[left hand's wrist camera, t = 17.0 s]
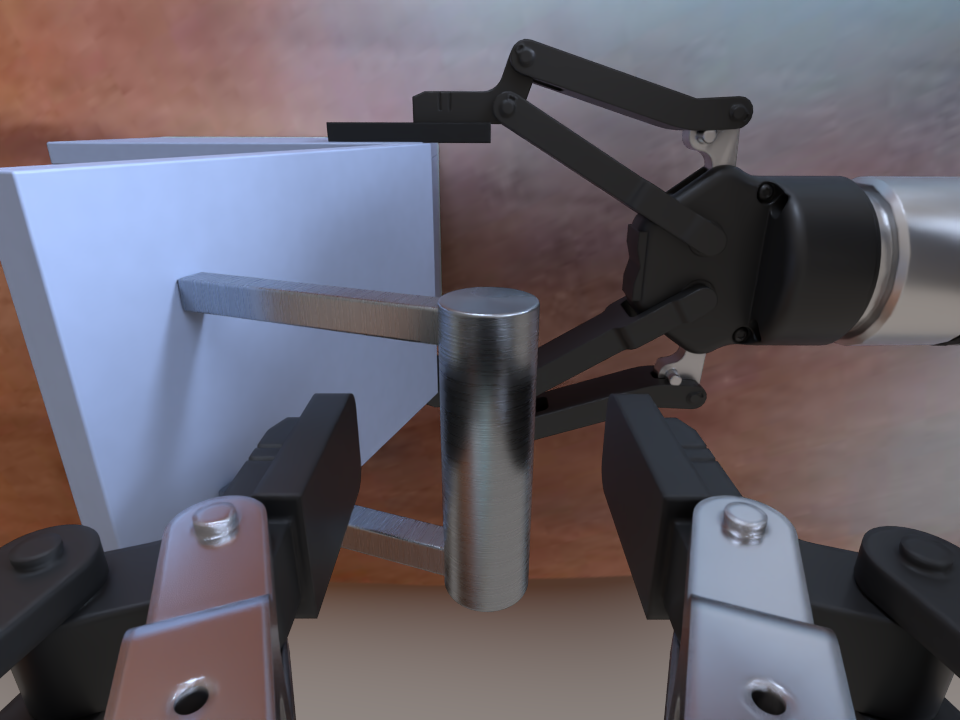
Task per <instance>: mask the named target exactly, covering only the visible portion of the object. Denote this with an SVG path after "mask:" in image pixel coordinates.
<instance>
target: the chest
mask: <svg viewBox="0 0 960 720" xmlns="http://www.w3.org/2000/svg"><path fill="white" fill-rule="evenodd" d="M404 143H422V142H328V137H157V138H133V139H109V140H85V141H60V142H48V143H47V147H48V151H49V155H50V159H51V163H52V164H54V165H57V164H73V163H90V162H106V161H123V160H140V159H156V158H173V157H189V156H206V155H222V154H239V153H255V152H272V151H288V150H305V149H321V148H338V147H354V146H371V145H387V144H404ZM430 144H431V160H432V197H433V233H434V269H435V297H441V296H442V276H441V233H440V190H439V147H438V143H430Z"/></svg>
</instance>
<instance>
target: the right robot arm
mask: <svg viewBox="0 0 960 720" xmlns="http://www.w3.org/2000/svg"><path fill="white" fill-rule="evenodd" d="M532 83H534V84H537V85H539V86H542V87H545V88H548V89H551V90H554V91H557V92H560V93H562V94H565V95H568V96H571V97H574V98H577V99H580V100H583V101H586V102H588V103H591V104H594V105H597V106H600V107H603V108H606V109H609V110H611V111H614V112H617V113H620V114H623V115H626V116H629V117H632V118H635V119H637V120H640V121H643V122H646V123H649V124H652V125H655V126H658V127H662V128H665V129H672V130H683V131H682V141H683V143H684V145H685V146H686V147H687V148H688V149H691V150H695V151H698V152H699V153H701V154H702V156H703V158H704V160H705V166H704V167H702V168H700V169H699V170H697V171H696V172H694V173H693V174H691V175H690V176H689V177H687V178H686V179H684V180H683V181H681V182H680V183H678V184H677V185H675V186H674V187H673V188H671V189H670V190H668V191H667V192H664V191H663V190H661V189H660V188H658V187H657V186H655V185H654V184H652V183H650V182H649V181H647V180H645V179H643V178H642V177H640V176H639V175H637V174H636V173H634V172H633V171H631V170H630V169H628V168H627V167H625V166H624V165H622V164H621V163H619V162H618V161H616V160H615V159H613V158H612V157H610V156H609V155H607V154H606V153H604V152H603V151H601V150H600V149H598V148H597V147H595V146H594V145H592V144H591V143H589V142H588V141H586V140H585V139H583V138H582V137H580V136H579V135H577V134H576V133H574V132H573V131H571V130H570V129H568V128H567V127H565V126H564V125H562V124H561V123H559V122H558V121H556V120H555V119H553V118H552V117H550V116H549V115H547V114H546V113H544V112H543V111H541V110H540V109H538V108H537V107H535V106H534V105H532V104H531V103H529V102H528V101H526V99H527V96H528V94H529V91H530V88H531V85H532ZM752 114H753V105H752V104H751V102H750V100H749V99H747V98H746V97H741V96H734V97H715V98H694V97H691V96H688V95H685V94H683V93H680V92H677V91H674V90H671V89H669V88H666V87H663V86H660V85H657V84H654V83H652V82H649V81H646V80H643V79H640V78H638V77H635V76H632V75H629V74H626V73H624V72H621V71H618V70H615V69H612V68H609V67H607V66H604V65H601V64H598V63H595V62H593V61H590V60H587V59H584V58H581V57H578V56H576V55H573V54H570V53H567V52H564V51H562V50H559V49H556V48H553V47H550V46H548V45H545V44H542V43H539V42H536V41H533V40H530V39H523V40H520V41H518V42H517V43H516V44H515V45H514V46H513V48H512V50H511V53H510V55H509V58H508V61H507V64H506V67H505V70H504V72H503V75H502V78H501V80H500V82H499V83H498V85H497V86H496V87H494V88H493V89H491V90H489V91H424V92H422V93H420V94H418V95H415V96H413V123H384V122H327V133H328V142H422V143H491V124H502V125H504V126H505V127H507V128H508V129H510V130H511V131H513V132H514V133H516V134H517V135H519V136H520V137H522V138H523V139H525V140H526V141H528V142H530V143H531V144H533V145H534V146H536V147H537V148H539V149H540V150H542V151H543V152H545V153H546V154H548V155H549V156H551V157H553V158H554V159H556V160H557V161H559V162H560V163H562V164H563V165H565V166H566V167H568V168H569V169H571V170H572V171H574V172H576V173H577V174H579V175H580V176H582V177H583V178H585V179H586V180H588V181H589V182H591V183H592V184H594V185H595V186H597V187H599V188H600V189H602V190H603V191H605V192H606V193H608V194H609V195H611V196H612V197H614V198H615V199H617V200H618V201H620V202H621V203H623V204H624V205H626V206H627V207H629V208H630V209H632V210H633V211H635V212H636V213H638V214H637V215H636V217H635V219H634V220H633V223H632V224H628V233H627V245H628V251H629V261H628V264H627V266H626V269H625V272H624V275H623V286H622V290H623V291H624V292H625V294H626V296H625V297H623V298H621V299H619V300H617V301H616V302H614V303H612V304H610V305H609V306H608V307H607V308H606V309H605V311H604V312H603V313H601V314H599V315H597V316H596V317H594V318H592V319H590V320H588V321H586V322H585V323H583V324H581V325H579V326H577V327H575V328H574V329H572V330H570V331H568V332H566V333H564V334H563V335H561V336H559V337H557V338H555V339H553V340H552V341H550V342H548V343H546V344H544V345H542V346H541V347H539V348H538V358H537V382H536V406H535V429H534V440H536V439H540V438H544V437H547V436H551V435H555V434H559V433H562V432H566V431H570V430H574V429H578V428H581V427H585V426H589V425H593V424H596V423H600V422H604V421H606V411H607V403H608V398H609V396H610V394H649V395H650V396H651V398H652V399H653V401H654V403H655V404H656V406H657V407H659V408H680V409H696V408H698V407H700V406H702V405H703V404H704V403H705V401H706V398H707V397H706V392H705V390H704V389H703V388H702V386H701V385H700V379H701V375H702V370H703V365H704V360H705V355H706V353H709V352H712V351H714V350H716V349H718V348H720V347H723V346H726V345H730V344H744V345H827V344H830V343H833V342H834V343H836V344H840V345H845V346H877V345H937V346H946V345H960V177H920V176H864V177H857V178H854V179H852V180H850V179H848V178H846V177H842V176H752V175H749V174H747V173H745V172H744V171H742V170H741V169H739V168H738V167H736V158H737V149H738V140H739V131H740V128H742V127H744V126H745V125H746V124H748V122H749V121H750V119H751V118H752ZM663 334H664V335H666V336H667V337H668V338H670V339H671V340H672V341H674V342H675V343H676V344H678V345H679V349H678V350H677V351H676V352H675V353H674V354H673V355H671V356H667V357H660V358H658V359H657V361H656V363H655V365H654V366H640V367H635V368H631V369H627V370H623V371H620V372H616V373H612V374H609V375H605V376H601V377H598V378H594V379H590V380H587V381H583V382H580V383H576V384H572V385H569V386H565V387H561V388H558V389H554V390H550V391H547V390H549V389H551V388H553V387H555V386H557V385H558V384H560V383H562V382H564V381H566V380H568V379H570V378H572V377H574V376H575V375H577V374H579V373H581V372H583V371H585V370H587V369H589V368H591V367H592V366H594V365H596V364H598V363H600V362H602V361H604V360H606V359H608V358H610V357H611V356H613V355H615V354H617V353H619V352H621V351H623V350H626V349H636V348H638V347H640V346H642V345H644V344H646V343H648V342H650V341H652V340H654V339H656V338H658V337H659V336H661V335H663ZM437 378H438V393H437V394H436V395H435V396H434V397H433V398H432V399H431V400H430V401H429V402H428V403H427V405H430V406H433V407H440V383H439V356H437ZM545 391H547V392H545Z"/></svg>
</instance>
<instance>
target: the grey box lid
mask: <svg viewBox="0 0 960 720" xmlns="http://www.w3.org/2000/svg"><path fill="white" fill-rule="evenodd" d="M0 261H1V264H2V267H3V270H4V274H5V277H6V280H7V283H8V287H9V290H10V293H11V296H12V300H13V303H14V306H15V309H16V313H17V316H18V319H19V322H20V326H21V329H22V332H23V335H24V339H25V342H26V345H27V348H28V352H29V355H30V358H31V361H32V365H33V368H34V371H35V374H36V378H37V381H38V384H39V387H40V390H41V394H42V397H43V400H44V403H45V407H46V410H47V413H48V416H49V420H50V423H51V426H52V429H53V433H54V436H55V439H56V442H57V446H58V449H59V452H60V455H61V459H62V462H63V465H64V468H65V472H66V475H67V478H68V481H69V485H70V488H71V491H72V494H73V498H74V501H75V504H76V507H77V511H78V514H79V517H80V520H81V524H82V525H84V526H88V527H90V528H92V529H94V530H95V531H96V532H97V533H98V535H99V537H100V540H101V543H102V547H103V550H104V552H106V551H111V550H116V549H121V548H126V547H131V546H136V545H141V544H145V543H150V542H154V541H158V540H162V536H163V533H164V530H165V528H166V526H167V525H168V523H169V522H170V521H171V520H172V519H173V518H174V517H175V516H176V515H178V514H179V513H180V512H182V511H183V510H185V509H187V508H189V507H190V506H192V505H194V504H197V503H199V502H202V501H205V500H208V499H212V498H216V497H221V496H222V495H223V494H224V492H225V491H226V489H227V488H228V486H229V485H230V483H231V482H232V481H233V479H234V478H235V476H236V475H237V473H238V472H239V471H240V469H241V468H242V466H243V465H244V463H245V462H246V461H248V460H249V456H250V455H251V453H252V452H253V450H254V449H255V448H257V445H258V443H259V442H260V440H261V439H262V437H263V436H264V435H265V433H266V432H267V430H268V429H270V428H271V427H273V426H275V425H276V424H278V423H279V422H281V421H282V420H284V419H285V418H287V417H300V416H301V414H302V412H303V411H304V409H305V408H306V406H307V404H308V403H309V401H310V399H311V398H312V396H313V395H314V394H315V393H352V394H353V395H354V398H355V402H356V410H357V422H358V433H359V444H360V456H361V466H362V465H363V464H364V463H365V462H367V461H368V460H369V459H370V458H371V457H372V456H373V455H374V454H375V453H376V452H377V451H378V450H379V449H380V448H381V447H382V446H383V445H384V444H385V443H386V442H387V441H388V440H389V439H390V438H391V437H392V436H393V435H395V434H396V433H397V432H398V431H399V430H400V429H401V428H402V427H403V426H404V425H405V424H406V423H407V422H408V421H409V420H410V419H411V418H412V417H413V416H414V415H415V414H416V413H417V412H418V411H419V410H420V409H421V408H423V407H424V406H425V405H426V404H427V403H428V402H429V401H430V400H431V399H432V398H433V397H434V396H435V395H436V394H437V393H438V378H437V345H439V383H440V421H441V459H442V497H443V527H442V526H438V525H434V524H430V523H426V522H422V521H418V520H414V519H410V518H406V517H402V516H398V515H394V514H390V513H386V512H381V511H377V510H373V509H369V508H365V507H361V506H357V505H354V508H353V511H352V514H351V517H350V520H349V523H348V526H347V529H346V532H345V535H344V538H343V541H342V544H341V547H343V548H346V549H350V550H354V551H357V552H361V553H364V554H368V555H372V556H375V557H379V558H383V559H386V560H390V561H393V562H397V563H401V564H404V565H408V566H412V567H415V568H419V569H422V570H426V571H430V572H433V573H437V574H441V575H444V576H445V586H446V589H447V591H448V593H449V594H450V596H451V597H452V598H453V599H454V600H455V601H456V602H457V603H458V604H460V605H462V606H464V607H466V608H468V609H471V610H475V611H482V612H492V611H499V610H502V609H505V608H508V607H510V606H512V605H513V604H515V603H516V602H518V601H519V600H520V599H521V598H522V596H523V595H524V593H525V591H526V589H527V586H528V573H529V549H530V525H531V501H532V477H533V453H534V429H535V406H536V382H537V358H538V334H539V310H540V303H539V300H538V299H537V298H536V297H535V296H534V295H532V294H530V293H527V292H524V291H520V290H516V289H510V288H501V287H474V288H465V289H460V290H455V291H452V292H449V293H446V294H444V295H443V296H441V297H435V269H434V233H433V197H432V160H431V144H430V143H404V144H387V145H371V146H354V147H338V148H321V149H305V150H288V151H272V152H255V153H239V154H222V155H206V156H189V157H173V158H156V159H140V160H123V161H106V162H90V163H73V164H57V165H40V166H24V167H7V168H0Z"/></svg>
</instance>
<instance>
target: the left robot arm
mask: <svg viewBox="0 0 960 720" xmlns="http://www.w3.org/2000/svg"><path fill="white" fill-rule="evenodd" d="M360 482H361V456H360V444H359V433H358V422H357V410H356V402H355V398H354V395H353V394H352V393H315V394H314V395H313V396H312V398H311V399H310V401H309V403H308V404H307V406H306V408H305V409H304V411H303V412H302V414H301V416H300V417H287V418H285V419H284V420H282V421H281V422H279V423H278V424H276V425H275V426H273V427H271V428H270V429H268V430H267V432H266V433H265V435H264V436H263V437H262V439H261V440H260V442H259V443H258V445H257V448H255V449H254V450H253V452H252V453H251V455H250V456H249V460H248V461H246V462H245V463H244V465H243V466H242V468H241V469H240V471H239V472H238V473H237V475H236V476H235V478H234V479H233V481H232V482H231V483H230V485H229V486H228V488H227V489H226V491H225V492H224V494H223V495H222V496H221V497H216V498H212V499H208V500H205V501H202V502H199V503H197V504H194V505H192V506H190V507H189V508H187V509H185V510H183V511H182V512H180V513H179V514H178V515H176V516H175V517H174V518H173V519H172V520H171V521H170V522H169V523H168V525H167V526H166V528H165V530H164V533H163V536H162V540H158V541H154V542H150V543H145V544H141V545H136V546H131V547H126V548H121V549H116V550H111V551H106V552H104V550H103V547H102V543H101V540H100V537H99V535H98V533H97V532H96V531H95V530H94V529H92V528H90V527H88V526H84V525H60V526H54V527H49V528H45V529H41V530H38V531H35V532H32V533H29V534H26V535H24V536H22V537H20V538H17V539H15V540H13V541H11V542H9V543H7V544H6V545H4V546H2V547H1V548H0V678H1V677H2V676H3V675H4V674H6V673H7V672H8V671H9V670H10V669H11V671H12V673H13V676H14V678H15V681H16V683H17V685H18V688H19V690H20V693H19V694H18V695H17V696H16V697H15V698H14V699H13V700H12V701H11V702H10V703H9V704H8V705H7V706H6V707H5V708H3V709H2V710H1V711H0V720H296V715H295V705H294V694H293V683H292V672H291V661H290V651H289V645H288V639H287V637H288V634H289V632H290V629H291V626H292V624H293V621H294V618H317V617H318V614H319V611H320V608H321V605H322V602H323V599H324V596H325V593H326V590H327V587H328V584H329V581H330V578H331V575H332V572H333V569H334V566H335V563H336V560H337V557H338V554H339V551H340V548H341V544H342V541H343V538H344V535H345V532H346V529H347V526H348V523H349V520H350V517H351V514H352V511H353V508H354V505H355V502H356V499H357V496H358V493H359V488H360ZM602 483H603V489H604V493H605V497H606V500H607V503H608V505H609V508H610V511H611V514H612V517H613V520H614V523H615V526H616V529H617V532H618V535H619V538H620V541H621V544H622V547H623V550H624V553H625V556H626V559H627V562H628V565H629V568H630V571H631V574H632V577H633V580H634V583H635V585H636V588H637V591H638V594H639V597H640V600H641V603H642V606H643V609H644V612H645V615H646V618H647V619H648V620H649V619H650V620H657V619H659V620H660V619H661V620H662V619H663V620H670V621H671V624H672V626H673V629H674V633H673V639H672V645H671V651H670V661H669V672H668V683H667V694H666V704H665V715H664V720H960V711H959V710H958V709H957V708H956V707H954V706H953V705H952V704H951V703H950V702H949V701H948V700H947V699H946V698H945V694H946V692H947V690H948V687H949V685H950V682H951V680H952V678H953V675H954V674H956V675H957V676H958V677H959V678H960V548H959V547H957V546H956V545H954V544H952V543H950V542H948V541H946V540H944V539H941V538H939V537H937V536H934V535H931V534H928V533H926V532H922V531H919V530H915V529H910V528H905V527H897V526H884V527H877V528H873V529H871V530H869V531H868V532H867V533H866V534H865V535H864V537H863V539H862V543H861V546H860V549H859V552H854V551H849V550H844V549H839V548H834V547H829V546H824V545H819V544H815V543H810V542H806V541H803V540H800V539H798V536H797V533H796V530H795V528H794V526H793V525H792V523H791V522H790V521H789V520H788V519H787V518H786V517H785V516H784V515H782V514H781V513H780V512H778V511H777V510H775V509H773V508H771V507H770V506H768V505H765V504H763V503H761V502H758V501H755V500H752V499H748V498H744V497H742V495H741V494H740V493H739V491H738V490H737V488H736V487H735V485H734V484H733V483H732V481H731V480H730V478H729V477H728V475H727V474H726V473H725V471H724V470H723V468H722V467H721V466H720V464H719V463H718V461H715V457H714V456H713V454H712V453H711V451H710V450H709V449H707V448H706V444H705V443H704V441H703V440H702V439H701V437H700V436H699V434H698V433H697V432H696V430H694V429H693V428H691V427H690V426H688V425H687V424H685V423H683V422H682V421H680V420H679V419H677V418H664V417H663V415H662V414H661V412H660V411H659V409H658V407H657V406H656V404H655V403H654V401H653V399H652V398H651V396H650V395H649V394H610V396H609V398H608V403H607V411H606V422H605V433H604V444H603V455H602Z"/></svg>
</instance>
